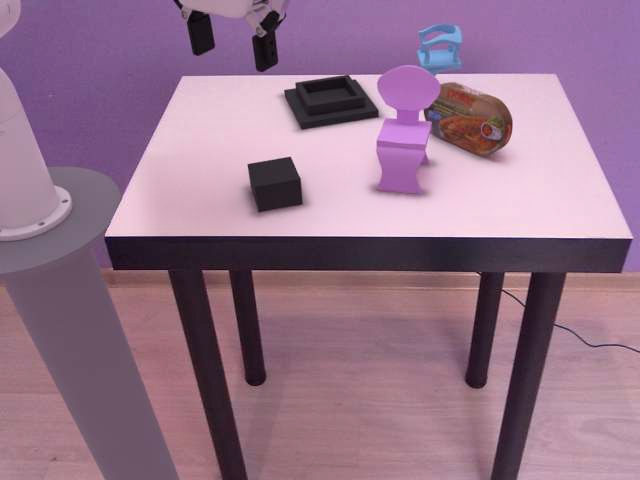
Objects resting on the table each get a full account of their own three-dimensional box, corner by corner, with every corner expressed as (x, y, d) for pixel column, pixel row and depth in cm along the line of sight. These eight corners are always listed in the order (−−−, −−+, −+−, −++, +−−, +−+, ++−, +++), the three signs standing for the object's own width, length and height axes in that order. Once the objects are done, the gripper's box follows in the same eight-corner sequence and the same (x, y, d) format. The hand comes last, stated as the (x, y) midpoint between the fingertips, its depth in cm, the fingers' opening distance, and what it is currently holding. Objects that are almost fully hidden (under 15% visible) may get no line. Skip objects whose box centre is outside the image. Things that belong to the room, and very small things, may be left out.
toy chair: (368, 190, 85) (367, 86, 75) (380, 158, 91) (381, 58, 82) (429, 197, 83) (436, 91, 74) (437, 163, 90) (444, 62, 80)
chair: (409, 89, 109) (411, 19, 102) (456, 86, 109) (462, 17, 102) (414, 108, 103) (417, 36, 96) (464, 106, 103) (471, 34, 96)
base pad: (301, 129, 99) (299, 112, 97) (284, 96, 108) (282, 79, 107) (378, 116, 101) (378, 99, 100) (355, 85, 111) (355, 69, 109)
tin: (420, 129, 98) (423, 78, 92) (434, 123, 99) (437, 72, 94) (498, 165, 89) (506, 110, 84) (511, 157, 91) (520, 103, 85)
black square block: (258, 212, 82) (254, 186, 79) (251, 188, 86) (247, 163, 83) (303, 204, 83) (300, 178, 80) (293, 181, 87) (290, 156, 85)
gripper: (119, -110, 62) (159, 57, 73) (250, -97, 55) (272, 87, 66) (174, -122, 67) (203, 36, 78) (301, -112, 59) (314, 62, 70)
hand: (235, 59), depth 72 cm, fingers open, 9 cm apart
